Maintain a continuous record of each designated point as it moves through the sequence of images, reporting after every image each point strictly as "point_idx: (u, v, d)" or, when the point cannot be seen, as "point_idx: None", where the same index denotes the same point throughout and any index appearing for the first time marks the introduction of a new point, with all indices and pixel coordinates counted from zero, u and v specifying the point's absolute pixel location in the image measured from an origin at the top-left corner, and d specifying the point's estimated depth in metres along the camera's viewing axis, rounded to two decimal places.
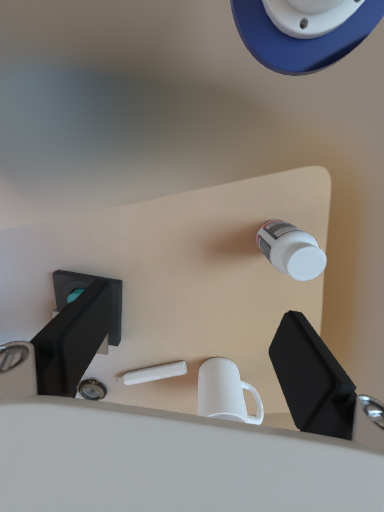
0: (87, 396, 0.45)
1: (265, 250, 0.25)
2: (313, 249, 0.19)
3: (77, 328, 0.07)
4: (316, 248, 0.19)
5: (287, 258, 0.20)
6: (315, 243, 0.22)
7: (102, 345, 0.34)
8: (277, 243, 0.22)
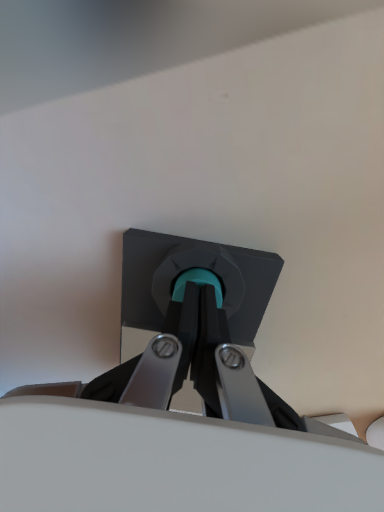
0: None
1: None
2: None
3: (196, 323, 0.08)
4: None
5: None
6: None
7: None
8: None
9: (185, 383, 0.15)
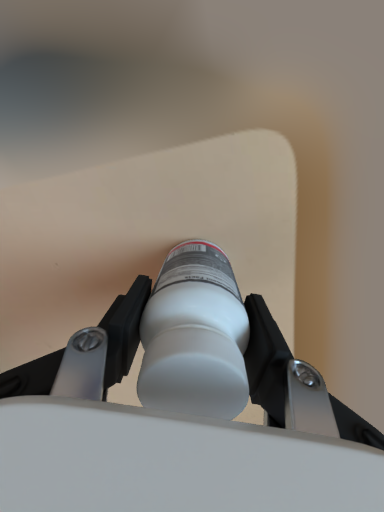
0: None
1: None
2: (201, 362, 0.06)
3: (135, 317, 0.08)
4: (211, 359, 0.06)
5: (139, 374, 0.07)
6: (236, 316, 0.08)
7: None
8: (144, 312, 0.09)
9: None
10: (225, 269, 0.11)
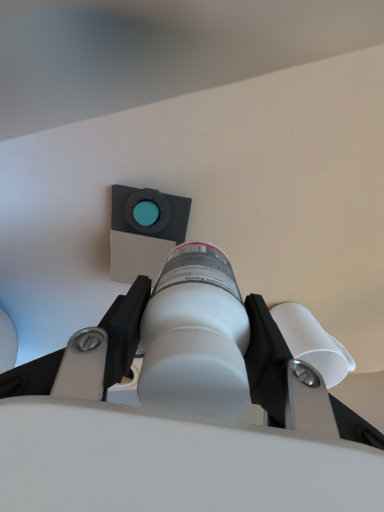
0: None
1: None
2: (202, 364, 0.06)
3: (135, 317, 0.08)
4: (211, 361, 0.06)
5: None
6: (237, 318, 0.08)
7: None
8: (145, 313, 0.09)
9: (144, 266, 0.28)
10: (225, 270, 0.11)
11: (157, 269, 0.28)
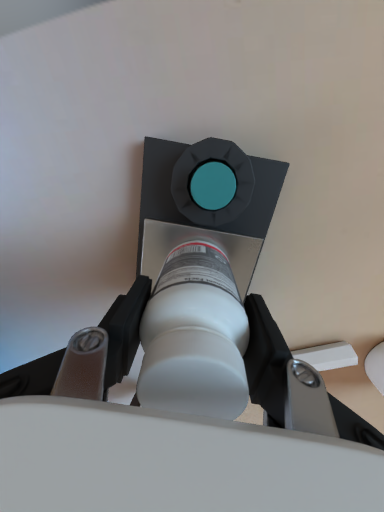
0: None
1: None
2: (201, 364, 0.06)
3: (135, 317, 0.08)
4: (210, 361, 0.06)
5: None
6: (236, 318, 0.08)
7: None
8: (144, 313, 0.09)
9: None
10: (225, 270, 0.11)
11: None
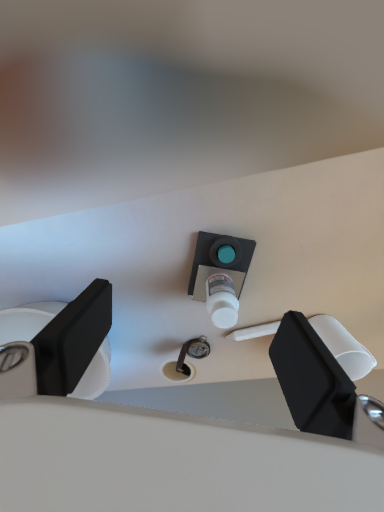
0: (192, 354, 0.49)
1: None
2: (227, 309, 0.28)
3: (77, 328, 0.07)
4: (229, 308, 0.28)
5: (211, 313, 0.29)
6: (234, 301, 0.31)
7: None
8: (209, 300, 0.31)
9: None
10: (231, 286, 0.33)
11: None
